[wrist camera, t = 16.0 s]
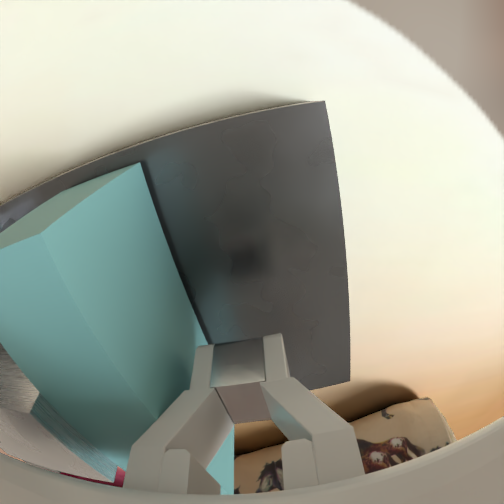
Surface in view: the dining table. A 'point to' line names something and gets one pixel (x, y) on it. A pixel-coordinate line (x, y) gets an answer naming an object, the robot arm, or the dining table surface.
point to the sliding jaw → (101, 313)
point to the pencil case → (359, 445)
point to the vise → (246, 229)
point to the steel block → (43, 429)
